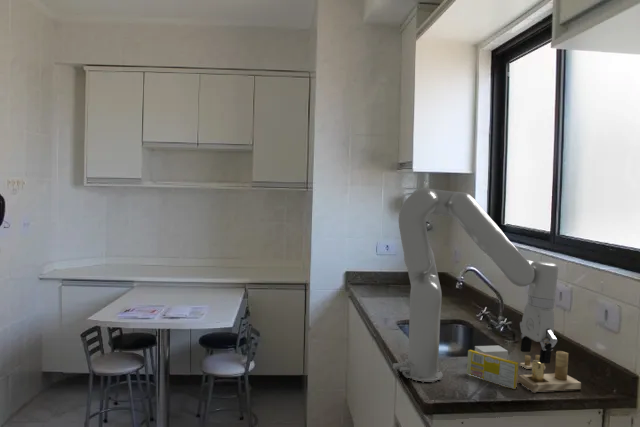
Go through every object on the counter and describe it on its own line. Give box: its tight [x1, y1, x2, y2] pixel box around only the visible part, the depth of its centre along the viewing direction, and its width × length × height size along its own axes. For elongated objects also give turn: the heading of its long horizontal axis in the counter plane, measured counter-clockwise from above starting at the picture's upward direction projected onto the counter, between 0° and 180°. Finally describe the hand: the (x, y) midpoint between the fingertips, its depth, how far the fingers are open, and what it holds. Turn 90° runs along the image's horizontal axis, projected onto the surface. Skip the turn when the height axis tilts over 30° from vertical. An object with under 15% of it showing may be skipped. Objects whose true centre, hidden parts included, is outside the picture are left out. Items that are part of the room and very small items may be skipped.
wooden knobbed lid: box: [519, 354, 546, 370], centre depth 173 cm, size 7×4×4 cm, turn 101°
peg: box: [531, 359, 545, 383], centre depth 156 cm, size 3×3×8 cm
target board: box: [517, 350, 582, 391], centre depth 156 cm, size 16×8×10 cm, turn 101°
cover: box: [474, 345, 509, 360], centre depth 174 cm, size 9×6×6 cm, turn 101°
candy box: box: [466, 349, 519, 388], centre depth 159 cm, size 16×2×8 cm, turn 44°
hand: (534, 357), depth 156 cm, fingers open, 9 cm apart
